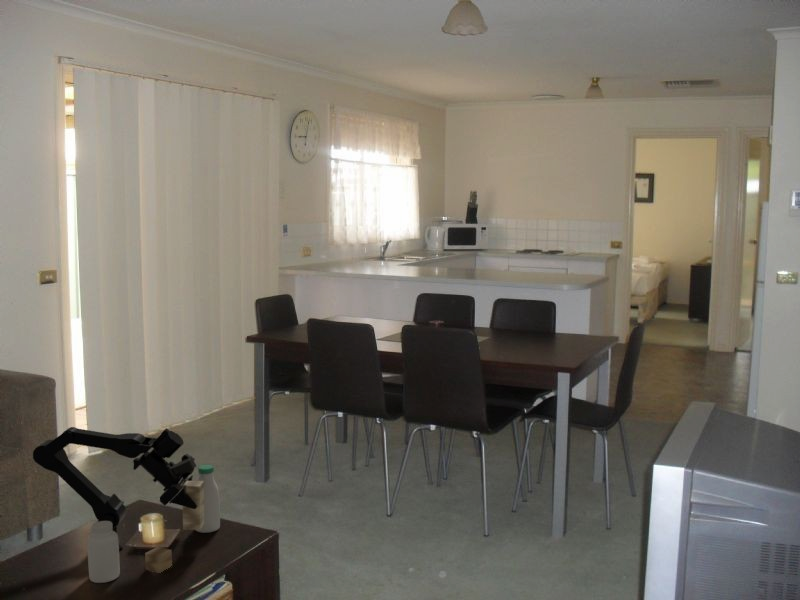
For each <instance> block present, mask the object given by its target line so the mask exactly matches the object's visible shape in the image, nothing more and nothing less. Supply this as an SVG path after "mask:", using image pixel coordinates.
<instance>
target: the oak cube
mask: <svg viewBox="0 0 800 600" xmlns="http://www.w3.org/2000/svg"><path fill="white" fill-rule="evenodd" d="M144 555H145V556H144V557H145V558H144V559H145V570H146V569H147V570H149V571H148V572H151V571H153V572H152V573H154V572H156V573H155V574H157V573H160V574H161V572H162V573H163V571H164V570H166V569H167V570H169V569H170V567H171V566H172V567H173V551H172V549H168V548H165V547H162V546H157V547H154V548H152V549H151V550H148V551H147V552H145V553H144ZM172 567H171V568H172ZM168 568H169V569H168ZM147 570H146V571H147ZM167 570H166V571H167ZM164 572H165V571H164Z"/></svg>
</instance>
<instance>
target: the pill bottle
mask: <svg viewBox="0 0 800 600" xmlns="http://www.w3.org/2000/svg"><path fill="white" fill-rule="evenodd" d="M112 528H113V527H112V522H110V521H100V522H98V521H97V522H94V523H92V525H91V534H90V535H89V536H88V537H87V540H86V547H87V548H86V549H87V565H88V567H87V568H88V576H89V580H90V581H91V583H96V584H103V583H108V582H112V581H114V580H116V579H118V577H120V574H121V569H120V567H121V566H120V565H121V564H120V550H119V545H120V544H119V535H118V532H117V533H116V532H114V531H112V530H113V529H112Z"/></svg>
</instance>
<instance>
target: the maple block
mask: <svg viewBox="0 0 800 600" xmlns="http://www.w3.org/2000/svg"><path fill="white" fill-rule="evenodd" d="M184 486H186V493H187V494H188V495H189V497H190V498H191V499H192V500H193V501H194V503H195V504H196V505H197V508H196V509H192V508H188V507H185V506H182V530H184V531H196V530H201V528H202V526H203V525H204V481H198V480H192V481H186V482H185V484H184V485H183V486H182V488H183V487H184Z"/></svg>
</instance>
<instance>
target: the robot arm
mask: <svg viewBox="0 0 800 600" xmlns="http://www.w3.org/2000/svg"><path fill="white" fill-rule="evenodd" d="M69 445H77V446H83V447H85V446H86V447H90V448H96V449H97V448H98V449H103V450H108V451H109V450H110V451H112V452H115V453H116V454H117V455H120V456H123V457H125V458H128V459H133V461H132V463H133V468H132V469H133V470H134V471H135V470H137V469H138V468H139V467H140V466H141V467H142V469H144V470H145V471H146V472H147V473H148V474H149V475H150V476H152V477H153V479H152V481H153V482H154V483H156V482H158V483H159V484H160V485H161V486H162V487H163V489H162V490H163V492H162V493H161V495H160V496H159V502H160V503H161V504H162V505H163V506H164V507H166V505H168V504H175V505H178V506H182V507H183V506H185V507H188V508H192V509H196V508H197V505H196V504H195V503H194V501H193V500H192V499H191V498H190V497H189V495H188V494H187V493H186V486H184V487H183V488H182V486H183V485H184V484H185V482H186V481H193V477H194V476H193V475H192V474H193V473H194V470H195V468H196V467H197V464H196V462H195V460H196V459H195V457H193V456H192V455H190V454H188V453H186V454H183V455H182V456H181V460H180V461H178V462H177V463H175V462H173V461H169V462H168V460H166V459H165V458H167V459H169V458H171V457H173V455H174V454H175V453H176V452H177V451H178V450H180V448H182V446H183V445H184V440H183V438H182V437H181V435H179V433H176V432H175V431H172V430H170V429H168V428H165V429H164V430H163V431H162V432H161V433H160V434H159V435H158V437H150V436H149V437H148V436H145V435H144V434H142V433H139V432H136V433H132V432H131V433H130V432H129V433H127V432H126V433H121V434H114V433H113V434H112V433H108V432H101V431H95V430H90V429H89V430H88V429H82V428H77V427H75V426H73V427H72V426H70V427H68V428H66V429H65V430H64V431H63V432H62V433H61V434H60V435H58V436H57V437H56V438H54V439H47V440H45V441H44V442H41V444H39V445H38V446H36V447H35V448H34V449H33V452H32V459H33V461H34V462H35V463H36V464H37V465H39V466H40V467H42V468H43V469H45V470H47V471H50V472H53V473H55V474H57V475H58V476H59V478H61V479H62V480H63V481H64V482H65V483H66V484H67V485H68V486H69V487H70V488H71V489H72V490H73V491H74V492H75V493H77V495H79V496H80V498H82V500H84V501H85V502H86V503H87V504H88V505H89V506H90V507H91V509H92V511H93V514H94V516H95V518H96V519H97V522H100V521H110V522H112V527H113V528H112V529H113V530H112V531H114V532H116V533H117V534H118V527H117V526H118V525H119V524H120V522H121V521H122V520H123V519H124V517H125V516H126V513H127V508H126V506H125V505H124V503H125V501H123V500H121V499H120V498H119V497H118V495H117V494H115V493H113V494H112V495H111V496H109V495H107V494H104V492H102V491H101V490H100V489H99V488H98V487H97V486H96V485H95V484H94V483H93V482H92V481H91V480H90V479H89V478H88V477H86V476H85V474H83V473H82V472H81V471H80V470H79V469H78V468H77V467H76V466H75V465H74V464H73V463H72V462H71V461H70V460H69V457H68V454H67V451H66V450H65V448H66V447H67V446H69ZM151 449H152V450H151ZM150 450H151V451H150ZM140 455H141V456H140ZM139 456H140V457H139ZM190 475H191V476H190ZM189 476H190V477H189ZM118 545H119V551H121V550H123V549H124V547H123V546H122V545H120V544H118Z"/></svg>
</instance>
